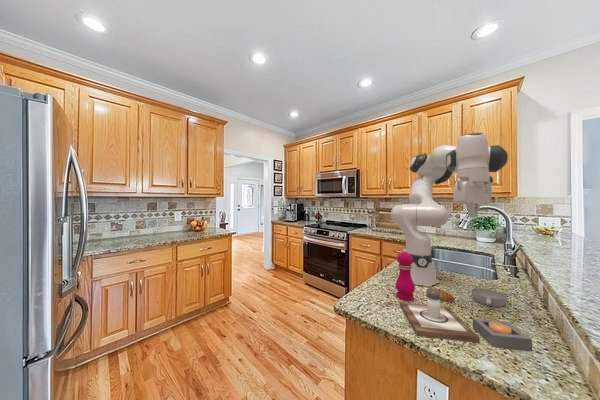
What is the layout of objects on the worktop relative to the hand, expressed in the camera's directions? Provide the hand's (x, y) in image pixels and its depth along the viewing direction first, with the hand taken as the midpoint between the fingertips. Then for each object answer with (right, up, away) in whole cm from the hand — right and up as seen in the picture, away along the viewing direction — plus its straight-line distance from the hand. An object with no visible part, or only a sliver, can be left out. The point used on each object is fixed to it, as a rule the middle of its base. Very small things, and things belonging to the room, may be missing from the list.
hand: (473, 217), depth 76 cm
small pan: (+12, -35, +7) cm, 37 cm away
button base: (-4, -34, -14) cm, 37 cm away
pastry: (-4, -35, +13) cm, 38 cm away
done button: (-4, -33, -14) cm, 36 cm away
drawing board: (-17, -34, -6) cm, 38 cm away
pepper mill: (-18, -35, +13) cm, 41 cm away
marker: (-17, -32, -6) cm, 37 cm away
